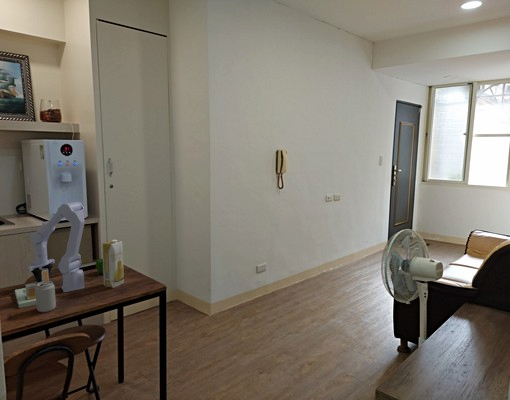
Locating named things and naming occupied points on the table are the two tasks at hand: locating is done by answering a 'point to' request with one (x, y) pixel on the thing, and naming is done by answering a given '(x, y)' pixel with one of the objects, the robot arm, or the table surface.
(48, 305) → the can
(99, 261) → the bell pepper
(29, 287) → the glass of amber drink
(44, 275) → the small drink carton
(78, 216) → the robot arm
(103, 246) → the juice carton
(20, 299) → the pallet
